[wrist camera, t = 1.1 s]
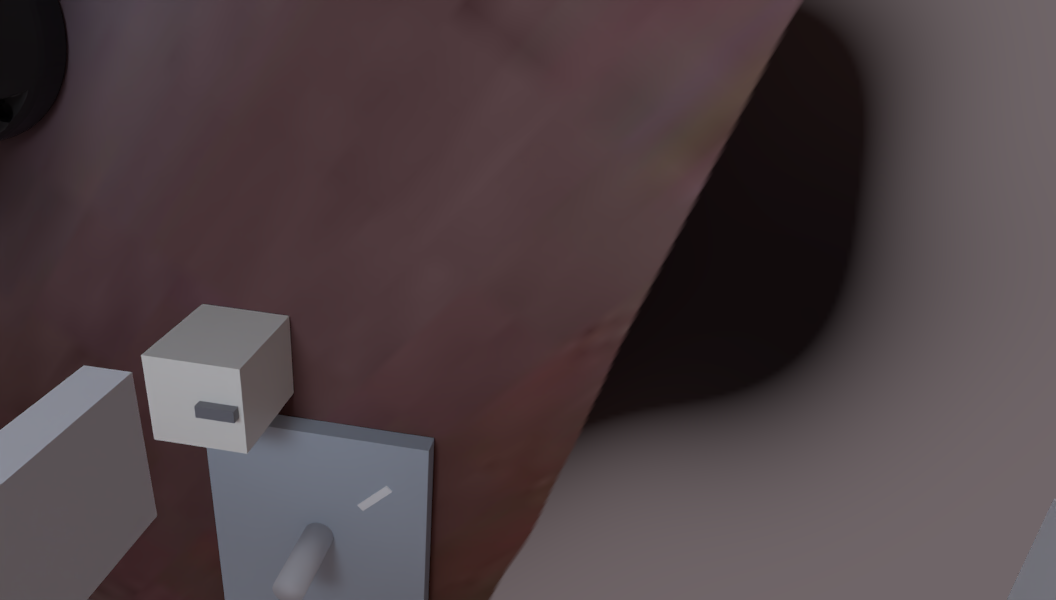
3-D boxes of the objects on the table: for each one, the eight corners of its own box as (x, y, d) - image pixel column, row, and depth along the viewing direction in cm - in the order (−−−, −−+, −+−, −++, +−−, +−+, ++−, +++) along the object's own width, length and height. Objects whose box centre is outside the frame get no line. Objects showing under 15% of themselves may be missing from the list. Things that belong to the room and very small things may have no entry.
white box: (211, 380, 54) (148, 445, 47) (202, 303, 51) (135, 360, 45) (293, 393, 54) (242, 459, 47) (289, 315, 51) (234, 374, 44)
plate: (234, 591, 63) (189, 664, 56) (213, 404, 55) (158, 465, 49) (427, 624, 61) (402, 702, 55) (434, 438, 54) (406, 504, 47)
